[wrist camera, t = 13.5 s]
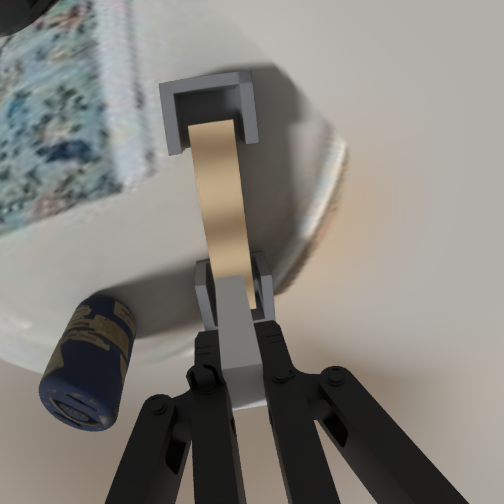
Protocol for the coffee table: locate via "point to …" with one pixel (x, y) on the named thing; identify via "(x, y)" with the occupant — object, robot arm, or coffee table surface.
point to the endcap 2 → (261, 291)
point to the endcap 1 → (208, 106)
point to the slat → (222, 200)
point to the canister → (90, 365)
